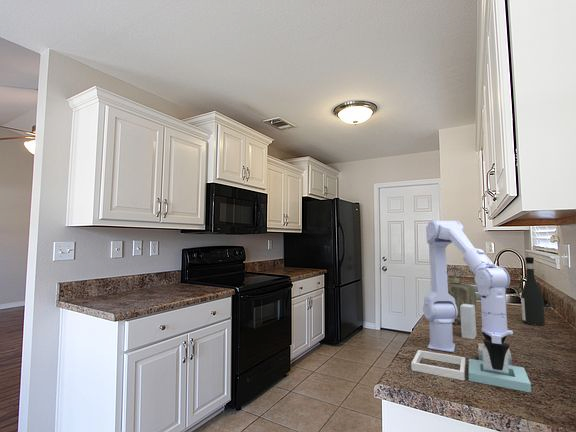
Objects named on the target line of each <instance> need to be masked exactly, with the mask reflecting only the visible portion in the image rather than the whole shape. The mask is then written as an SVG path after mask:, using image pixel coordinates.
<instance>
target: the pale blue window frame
mask: <svg viewBox="0 0 576 432" xmlns="http://www.w3.org/2000/svg"><path fill="white" fill-rule="evenodd" d="M508 368H509V376H506V375H501V374H495V373H489V372H484V370H483V361H481V360H479V359H473V358H469V359H468V381H469V382H473V383H479V384H483V385H484V384H485V385H489V386H495V387H500V388H503V389H504V388H506V389H510V390H516V391H521V392H525V393H526V392H527V393H532V384H531V381H530V379H529V377H528V373H527V372H526V370H525V368H524V366H523V367H522V366H517V365H508Z"/></svg>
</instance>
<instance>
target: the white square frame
mask: <svg viewBox="0 0 576 432" xmlns="http://www.w3.org/2000/svg"><path fill="white" fill-rule="evenodd" d="M422 359H425V360H430V361H431V360H432V361H437V362H443V363H448V364H449V363H450V364H455V365H460V367H459V369H454V368H448V367H442V366H437V365H432V364H426V363H420V362H421V360H422ZM410 363H411V364H410V365H411V371H413V372H417V373H418V372H419V373H423V374H428V375H429V374H430V375H435V376H439V377H443V378H449V379H454V380H460V381H465V377H466V357H465V356H458V355H452V354H446V353H439V352H434V351H426V350H421V349H418V350H417V352H416V354H415V356H414V357H413V359H412V360H411V362H410Z"/></svg>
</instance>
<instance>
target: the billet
mask: <svg viewBox="0 0 576 432" xmlns="http://www.w3.org/2000/svg"><path fill="white" fill-rule="evenodd" d="M481 344H482V350H483V370H484V372H489V373H495V374H501V375H506V376H509V368H508V351H507V352H506V355H505V359H504V366H503V370H496V369H493V368H492V365H491V361H490V356H489V353H488V350H487V348H486V346H485V344H484V342H483V343H481Z"/></svg>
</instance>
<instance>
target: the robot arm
mask: <svg viewBox="0 0 576 432" xmlns="http://www.w3.org/2000/svg"><path fill="white" fill-rule="evenodd" d="M464 229H465V228H464V225H463V224H462V223H461V222H460V221H459V220H457V219H456V220H455V219H454V220H438V219H437V220H435V219H432V220H429V222H428V224H427V226H426V228H425V230H426V231H425V232H426V235H425V236H426V244H428V248H429V249H428V251H429V266H430V267H429V268H430V286H431V288H430V289H431V291H430V292H429V293H428V294H427V295H425V296H424V297H423V299H424V300H423V301H424V302H423V306H422V312H423V313H422V314H423V315H424V317H425V318H426V320H427V321H429V325H428V327H429V343H428V345H427V349H430V350H434V351H436V350H437V351H442V352H450V353H455V350H456V349H455V348H456V343H454V340H453V339H454V337H453V336H454V334H453V322H454V321H455V319H456V318H458V317H457V315H458V310H457V307H456V304H455V299H454V298H453V297H452V296H451V295H450V294H449V293H448V283H449V282H448V274H447V270H448V268H447V252H446V251H447V250H446V248H447V247H448V246H449V245H451V244H452V243H453V244H454V245H455V246H456V248H457V249H458V250H459V251H461V253H462V254H463V258H462V259H463V262H465V264H466V265H467V267H468V268H469V269H470V270H471V272H472V273H473V274H474V275H475V276H474V277H473V278H474V282H475V284H476V286H477V292H478V294H479V295H480V308H481V310H480V311H481V312H480V313H481V325H482V326H481V332H482V335H483V337H484V338H483V339H482V342H483V343H484V344H485V346H486V348H487V350H488V353H489V356H490V361H491V365H492V368H493V369H496V370H503V366H504V359H505V355H506V352H507V350H508V349H509V350H510V343H507V342H505V340H506V339H507V336H508V335H513V334H514V331H513V330H512V329H511V330H510V329H508V321H507V320H508V318H507V317H508V315H507V300H506V299H507V298H506V289H507V288H509V286H510V283H511V276H510V274H509V272H508V271H507V269H506V268H505V267H501V266H498V265H495V263H494V262H492V260H491V259H490V258H489V257H488V256H487V254H486V253H485V251H484V250H483V249H480V248H475V246H474V245H473V244H472V242H471V241H470V240H469V238H468V237H467V235H466V234H465V233H464ZM437 301H445V302H437ZM456 320H457V319H456Z"/></svg>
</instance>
